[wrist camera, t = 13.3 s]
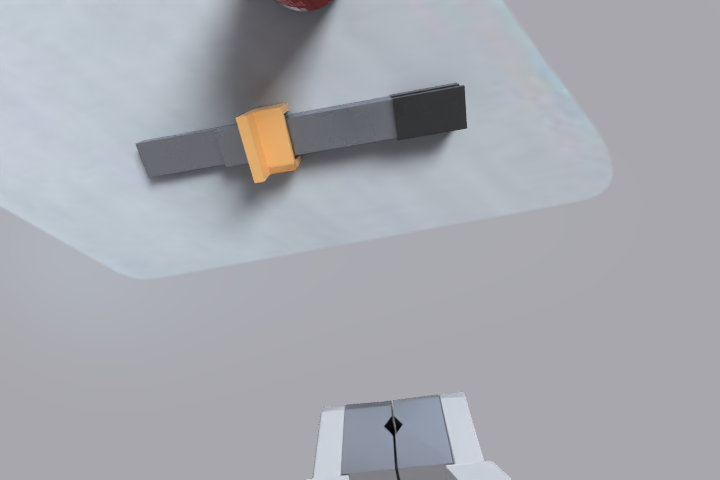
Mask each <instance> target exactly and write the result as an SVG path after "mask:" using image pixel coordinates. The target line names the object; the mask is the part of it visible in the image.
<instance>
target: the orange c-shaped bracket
mask: <svg viewBox="0 0 720 480" xmlns="http://www.w3.org/2000/svg"><path fill="white" fill-rule="evenodd" d="M288 110H290V109H289V105H288V102H286V103H281V104H275V105H270V106H265V107H259V108H254V109H251V110H250V111H248V112H246V113H244V114H242V115H240V116H238V117H236V122H237V125H238V128H239V132H240V135H241V139H242V142H243V145H244V149H245V152H246V156H247V159H248V162H249V166H250V169H251V173H252V176H253V180H254V183H259V182H265V180H266V179H267V178H268V176H269V175H270V174H276V173H282V172H288V171H294V170H296V169H297V167H298V166H299V164H300V162H301V156H300V155H294V153H293V149H292V145H291V141H290V137H289V133H288V129H287V125H286V121H285V116H284V114H285V113H286V112H287V111H288Z"/></svg>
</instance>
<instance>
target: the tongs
mask: <svg viewBox="0 0 720 480" xmlns="http://www.w3.org/2000/svg"><path fill="white" fill-rule="evenodd" d="M454 86H459V84H458V83H453V84H447V85H442V86H436V87H431V88H425V89H420V90H414V91H409V92H403V93H398V94H392V95H390V96H388V97H383V98H377V99H372V100H366V101H361V102H355V103H349V104H344V105H338V106H333V107H327V108H322V109H316V110H311V111H305V112H300V113H294V114H289V115H284V116H285V117H287V116H293V115H299V114H304V113H310V112H315V111H321V110H326V109H332V108H337V107H343V106H348V105H354V104H360V103H365V102H371V101H376V100H382V99H387V98H393V97H398V96H404V95H410V94H415V93H421V92H426V91H432V90H437V89H443V88H448V87H454ZM232 126H238V125H237V124H234V125H228V126H223V127H217V128H211V129H206V130H200V131H195V132H189V133H184V134H178V135H173V136H167V137H162V138H156V139H151V140H145V141H141V142H139V143H136V146H137V149H138V151H139V154H140V156H141V159H142V161H143V164H144V166H145V168H146V171H147V173H148V176H149V177H155V176H161V175H166V174H172V173H178V172H184V171H189V170H195V169H201V168H207V167H212V166H218V165H224V164H225V163H224V159H223V156H222V153H221V150H220V147H219V144H218V141H217V138H216V134H215V131H216V130H218V129H221V128H226V127H232Z"/></svg>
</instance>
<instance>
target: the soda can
mask: <svg viewBox="0 0 720 480" xmlns="http://www.w3.org/2000/svg"><path fill="white" fill-rule="evenodd" d="M275 1H276V2H278V3H280V4H281V5H283V6H285V7H287V8H289V9H292V10H295V11H301V12H308V11H314V10H317V9H320V8H322V7H324V6H326V5H327V4H329V3H330V2H331V1H332V0H275Z"/></svg>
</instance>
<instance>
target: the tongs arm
mask: <svg viewBox="0 0 720 480" xmlns="http://www.w3.org/2000/svg"><path fill="white" fill-rule="evenodd" d="M285 121H286V125H287V129H288V133H289V137H290V141H291V145H292V149H293V153H294V155H300V154H306V153H312V152H317V151H323V150H329V149H335V148H341V147H346V146H352V145H358V144H364V143H370V142H376V141H381V140H387V139H393V138H397V139H398V140H402V139H408V138H414V137H420V136H425V135H431V134H437V133H443V132H449V131H455V130H460V129H466V128H467V121H466V104H465V87H464V85H462V86H460V85H459V86H454V87H448V88H443V89H437V90H432V91H426V92H421V93H415V94H410V95H404V96H398V97H393V98H387V99H382V100H376V101H371V102H365V103H360V104H354V105H348V106H343V107H337V108H332V109H326V110H321V111H315V112H310V113H304V114H299V115H293V116H287V117H285ZM215 134H216V138H217V141H218V144H219V147H220V150H221V153H222V156H223V159H224V163H225V166H226V167H230V166H236V165H242V164H248V163H249V162H248V159H247V156H246V152H245V149H244V145H243V142H242V139H241V135H240V132H239V128H238V126H232V127H226V128H221V129H218V130H216V131H215Z"/></svg>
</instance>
